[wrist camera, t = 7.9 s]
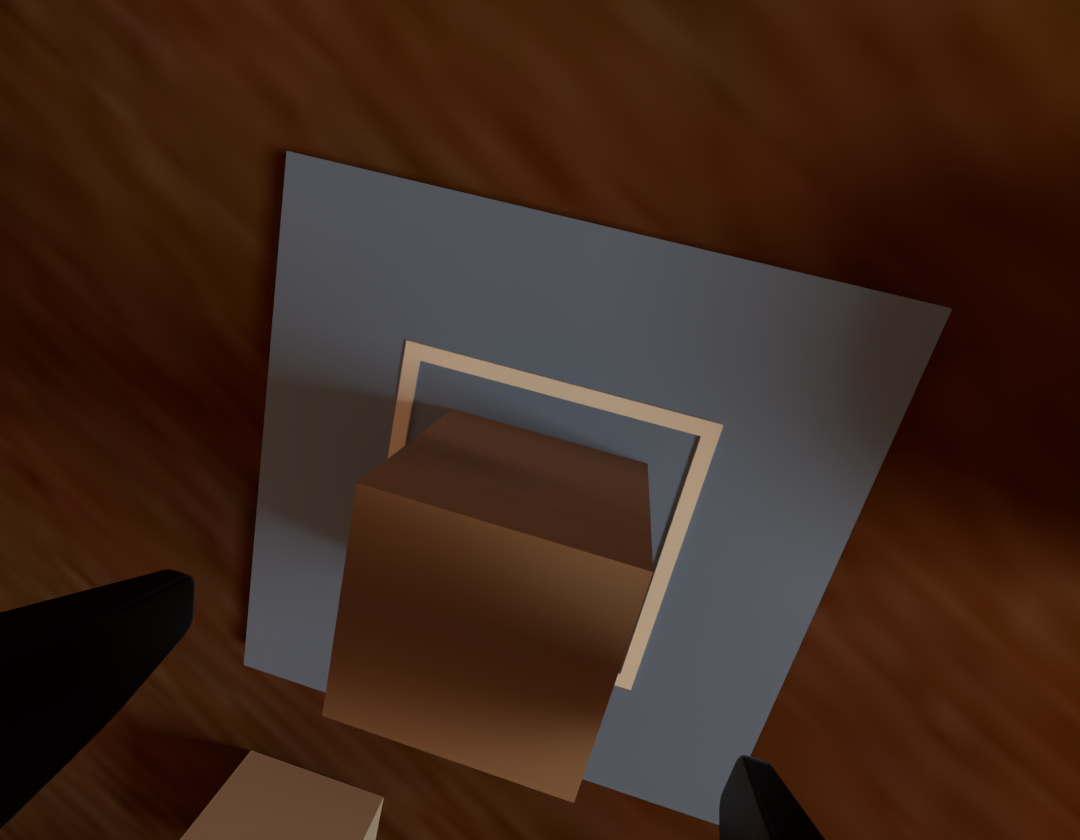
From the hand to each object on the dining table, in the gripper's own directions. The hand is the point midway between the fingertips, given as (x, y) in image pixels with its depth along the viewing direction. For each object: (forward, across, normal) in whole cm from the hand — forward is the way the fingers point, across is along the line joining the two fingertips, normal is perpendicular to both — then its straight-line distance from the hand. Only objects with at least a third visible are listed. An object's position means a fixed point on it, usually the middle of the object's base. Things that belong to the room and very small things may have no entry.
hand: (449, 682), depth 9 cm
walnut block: (+6, 0, 0) cm, 6 cm away
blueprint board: (+7, 0, 0) cm, 7 cm away
